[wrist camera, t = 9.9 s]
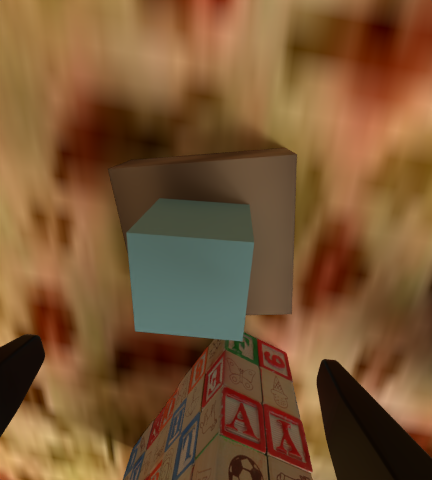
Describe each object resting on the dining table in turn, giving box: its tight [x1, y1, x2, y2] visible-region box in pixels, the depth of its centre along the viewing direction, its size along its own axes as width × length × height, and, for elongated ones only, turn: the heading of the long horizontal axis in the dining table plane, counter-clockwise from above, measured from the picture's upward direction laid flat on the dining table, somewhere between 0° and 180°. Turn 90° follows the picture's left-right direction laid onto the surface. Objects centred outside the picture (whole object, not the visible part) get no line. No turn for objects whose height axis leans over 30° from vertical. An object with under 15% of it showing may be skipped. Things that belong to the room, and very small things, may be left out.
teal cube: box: [126, 198, 254, 341], centre depth 14 cm, size 5×5×5 cm
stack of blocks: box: [123, 332, 313, 480], centre depth 22 cm, size 21×6×12 cm, turn 151°
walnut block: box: [108, 148, 297, 315], centre depth 18 cm, size 10×10×4 cm
